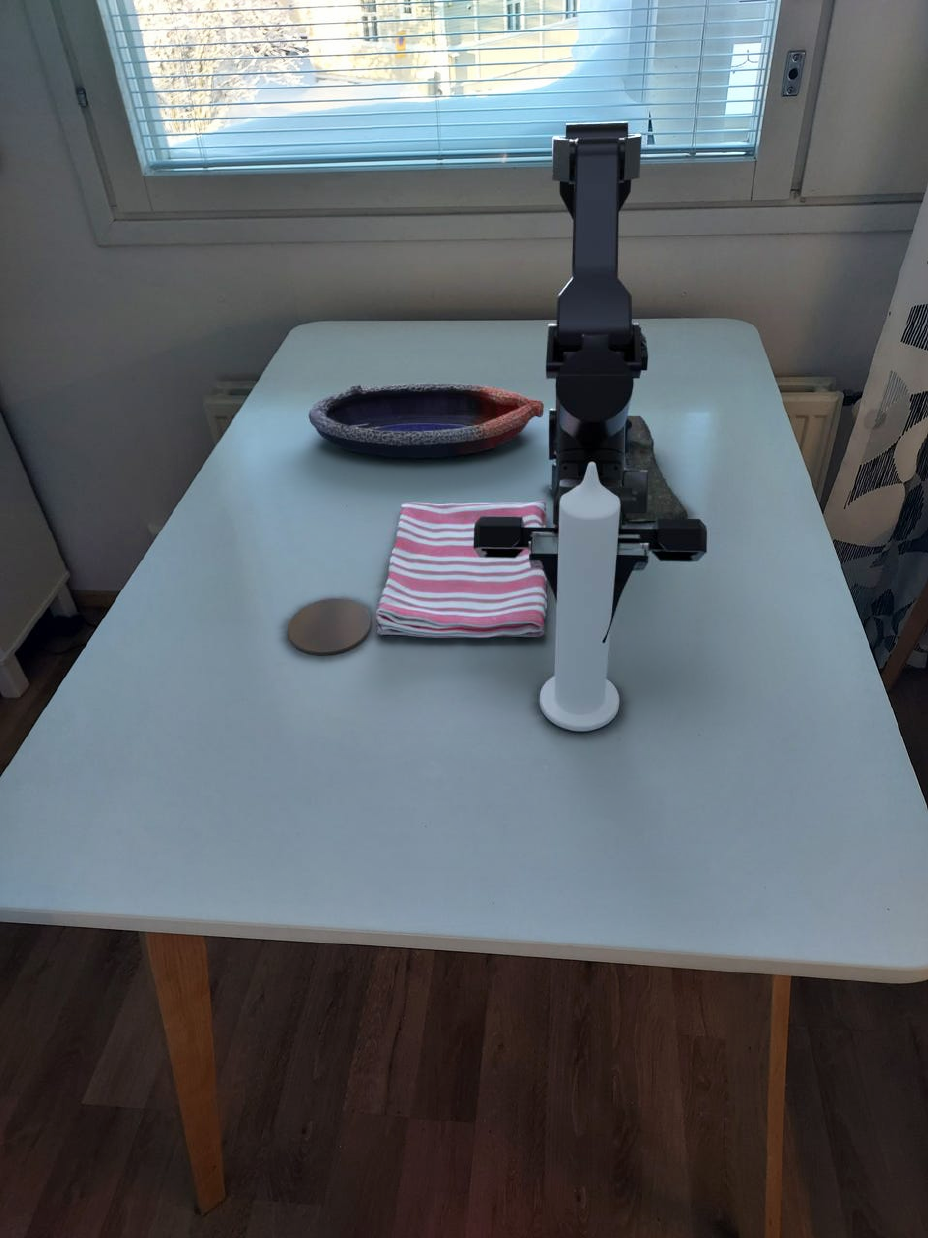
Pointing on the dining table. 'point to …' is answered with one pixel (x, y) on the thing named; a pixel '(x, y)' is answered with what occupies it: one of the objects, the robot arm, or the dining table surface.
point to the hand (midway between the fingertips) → (585, 642)
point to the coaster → (329, 626)
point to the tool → (651, 476)
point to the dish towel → (460, 576)
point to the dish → (423, 418)
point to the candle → (584, 608)
